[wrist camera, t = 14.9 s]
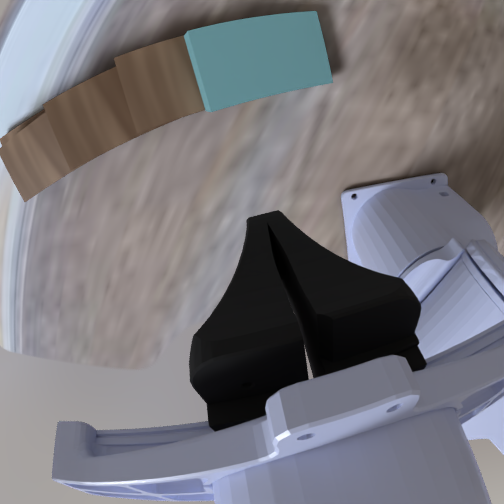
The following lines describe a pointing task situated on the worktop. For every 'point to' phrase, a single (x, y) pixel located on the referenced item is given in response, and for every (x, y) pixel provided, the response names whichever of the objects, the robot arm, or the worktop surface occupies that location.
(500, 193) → the worktop surface
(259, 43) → the teal domino
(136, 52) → the walnut domino
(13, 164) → the walnut domino
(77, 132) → the walnut domino
